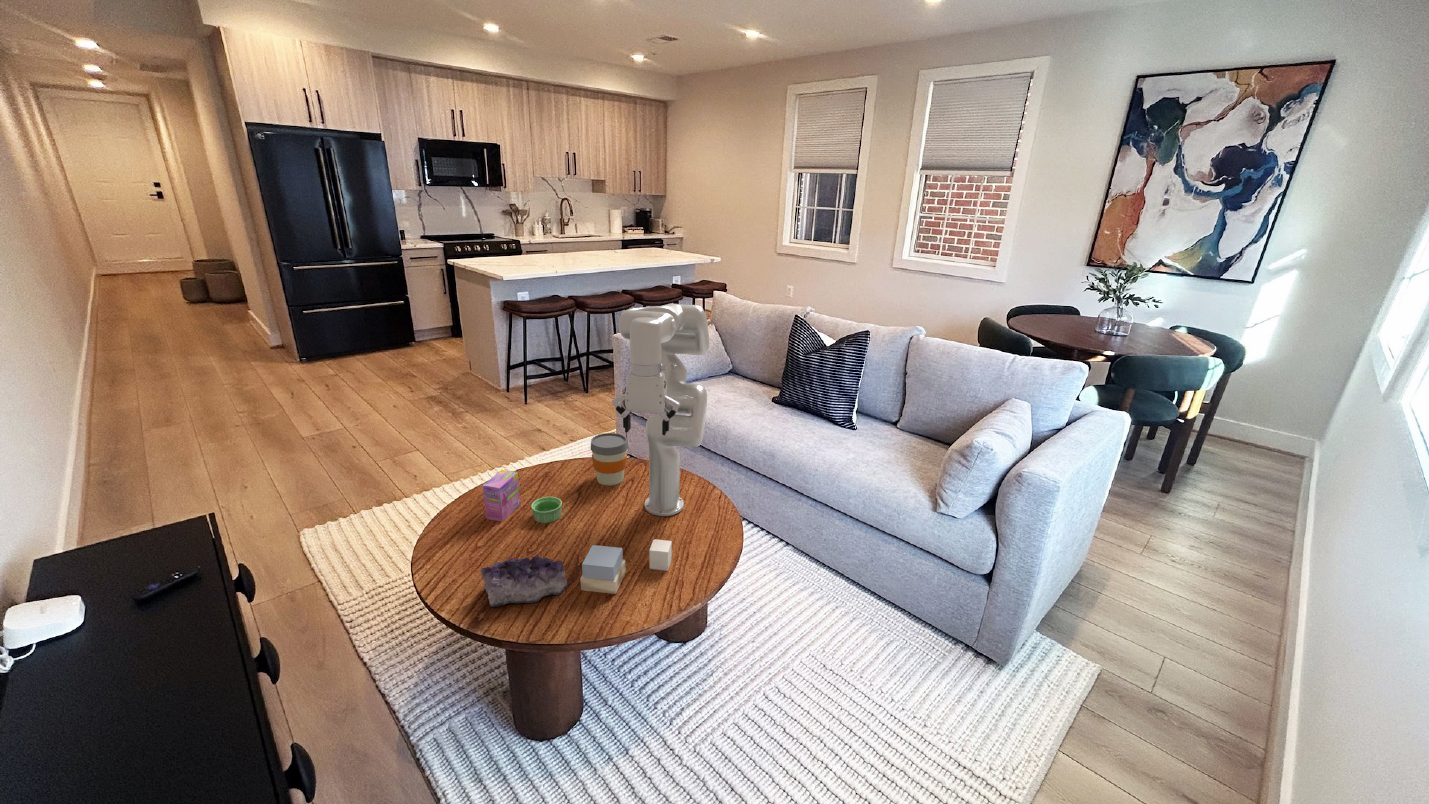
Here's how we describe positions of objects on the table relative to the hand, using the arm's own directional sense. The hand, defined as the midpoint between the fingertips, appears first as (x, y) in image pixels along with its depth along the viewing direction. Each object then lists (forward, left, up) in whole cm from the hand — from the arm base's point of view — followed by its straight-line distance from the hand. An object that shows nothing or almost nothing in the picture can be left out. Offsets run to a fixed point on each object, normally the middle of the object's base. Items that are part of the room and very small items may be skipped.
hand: (646, 431), depth 142 cm
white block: (+5, +5, -37) cm, 37 cm away
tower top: (+14, -8, -33) cm, 37 cm away
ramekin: (-12, -34, -37) cm, 52 cm away
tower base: (+14, -8, -37) cm, 40 cm away
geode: (+21, -26, -37) cm, 50 cm away
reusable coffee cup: (-38, -22, -37) cm, 57 cm away
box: (-12, -48, -37) cm, 62 cm away
